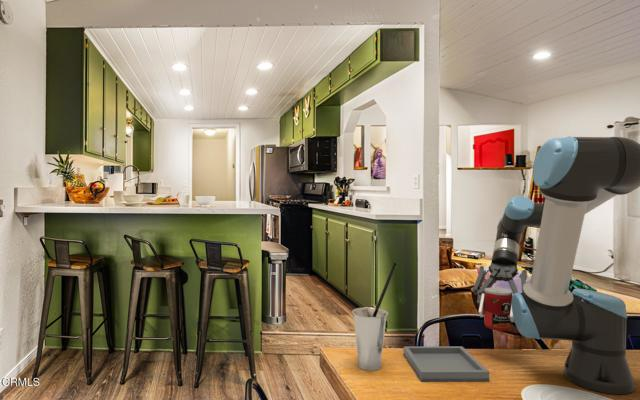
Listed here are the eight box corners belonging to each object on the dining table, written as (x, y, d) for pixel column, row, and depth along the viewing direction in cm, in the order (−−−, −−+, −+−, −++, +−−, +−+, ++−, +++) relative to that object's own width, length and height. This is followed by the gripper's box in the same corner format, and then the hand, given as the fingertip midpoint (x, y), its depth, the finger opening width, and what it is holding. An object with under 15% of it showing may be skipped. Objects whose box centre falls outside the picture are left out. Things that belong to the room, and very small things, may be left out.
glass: (395, 375, 107) (397, 263, 107) (353, 375, 107) (354, 263, 107) (388, 359, 118) (389, 257, 118) (350, 358, 117) (351, 257, 117)
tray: (461, 354, 122) (461, 346, 122) (489, 381, 104) (489, 371, 104) (403, 354, 121) (403, 346, 121) (421, 381, 103) (421, 372, 103)
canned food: (493, 331, 114) (494, 293, 114) (478, 323, 122) (478, 287, 122) (518, 330, 115) (518, 292, 116) (501, 322, 123) (501, 287, 123)
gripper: (542, 266, 126) (536, 330, 112) (474, 260, 137) (461, 318, 124) (540, 250, 122) (534, 315, 108) (470, 246, 133) (457, 304, 119)
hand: (495, 316), depth 116 cm, fingers closed on canned food, 8 cm apart
